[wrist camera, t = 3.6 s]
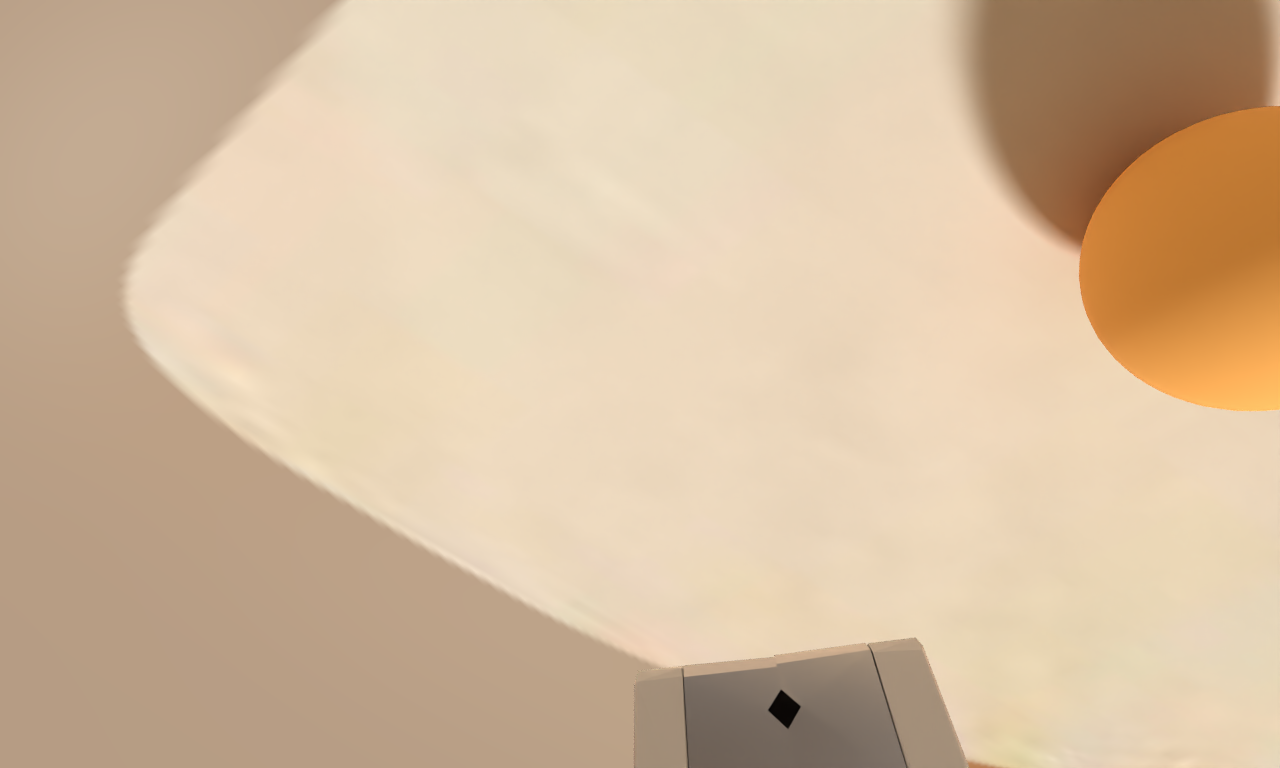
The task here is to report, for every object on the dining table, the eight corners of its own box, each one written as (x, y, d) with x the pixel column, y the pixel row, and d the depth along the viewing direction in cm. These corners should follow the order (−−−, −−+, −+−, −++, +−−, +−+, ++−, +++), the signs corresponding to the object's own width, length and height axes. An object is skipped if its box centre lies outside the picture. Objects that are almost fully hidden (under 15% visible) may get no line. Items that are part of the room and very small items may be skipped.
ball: (1336, 54, 16) (1628, 120, 11) (1275, 307, 19) (1489, 447, 14) (1043, 105, 16) (1202, 190, 12) (1026, 344, 19) (1149, 491, 14)
